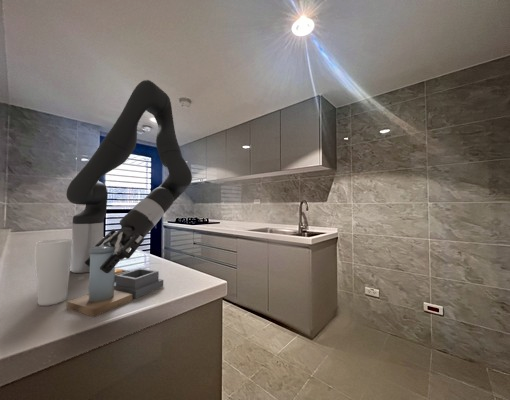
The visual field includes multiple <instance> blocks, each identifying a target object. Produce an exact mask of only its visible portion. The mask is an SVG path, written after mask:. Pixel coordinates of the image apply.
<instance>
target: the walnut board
mask: <svg viewBox="0 0 510 400" xmlns="http://www.w3.org/2000/svg"><path fill="white" fill-rule="evenodd" d="M131 301H133V298H132V294H130V293H126V292H121V291H117V290H114V296H113V297H112V298H110V299H108V300H104V301H100V302H91V301H89V293H88V294H85V295H82V296H79V297H76V298H74V299H70V300H67V301H66V309H68V310H72V311H75V312H78V313H81V314H84V315H87V316H91V317H92V318H95V317H96V316H99V315H101V314H104V313H106V312H108V311H110V310H112V309H115V308H117V307H120V306H122V305H124V304H126V303H129V302H131Z"/></svg>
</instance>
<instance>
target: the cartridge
mask: <svg viewBox="0 0 510 400" xmlns="http://www.w3.org/2000/svg"><path fill="white" fill-rule="evenodd" d="M115 249H116V248H115V246H98V247H92V248H90V272H89V277H88V279H89V280H88V294H89V301H91V302H100V301H104V300H108V299H110V298H112V297H113V296H114V277H115V269H116V266H115V267H114V268H113V269H112V270H111V271H110V272H109V273H105V272H103V271H102V270H100V267H101V266H102V264H103V263H104V262H105V261H106V260H107V259H108V258H109V257H110V256H111V255H114V254H113V253H114V251H115Z"/></svg>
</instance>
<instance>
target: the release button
mask: <svg viewBox="0 0 510 400" xmlns="http://www.w3.org/2000/svg"><path fill="white" fill-rule="evenodd" d="M119 273H122V269H121V268H115V274H119Z"/></svg>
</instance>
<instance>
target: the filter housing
mask: <svg viewBox="0 0 510 400" xmlns="http://www.w3.org/2000/svg"><path fill="white" fill-rule="evenodd" d="M159 273H160V272H159V271H158V270H152V269H147V268H141V267H140V268H136V269H134V270H129V269H122V273H119V274H115V277H114V290H117V291H121V292H126V293H130V294H132V299H138V298H140V297H143V296H145V295H148V294H150V293H152V292H155V291H157V290H159V289H161V288H163V287H164V279H160V278H159V275H160V274H159Z"/></svg>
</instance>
